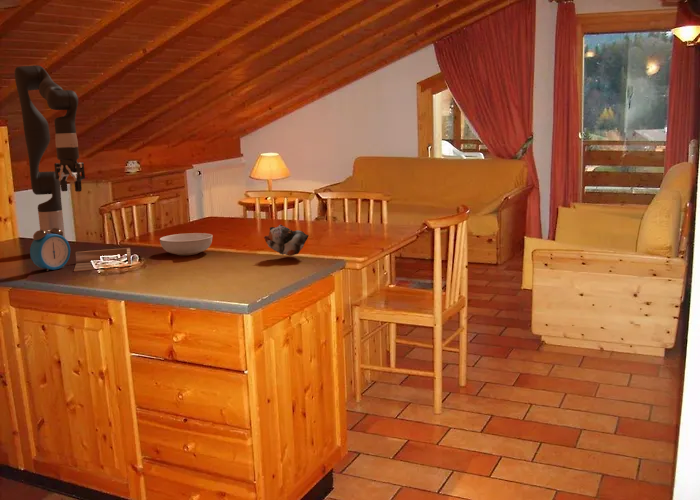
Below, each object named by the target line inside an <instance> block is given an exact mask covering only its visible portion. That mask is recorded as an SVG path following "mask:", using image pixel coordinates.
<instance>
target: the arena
mask: <svg viewBox="0 0 700 500" xmlns="http://www.w3.org/2000/svg"><path fill="white" fill-rule="evenodd" d="M74 254H75V261H76V262H75V266H74V268H73V272H76V273H77V272H87V271H96V270H95V269H94V268H93V267H92V266H91V265H90V261H91V260H99V259H100V256H102V255H103V256H104V255H117V254H120V255H124V254H127V260H128V264H131V265H132V259H131V258H132V254H131V248H130V247H125V248H124V247H123V248H113V249H110V248H109V249H101V250H100V249H97V250H86V251H76V252H75V253H74Z"/></svg>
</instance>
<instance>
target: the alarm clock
mask: <svg viewBox="0 0 700 500" xmlns="http://www.w3.org/2000/svg"><path fill="white" fill-rule="evenodd" d="M49 231H50V233H52V234H49ZM47 232H48V233H46V231H44V230H40V229H39V230H37V231H35V232H34V234H33V235H32V238H33V240H32V242H31V243H30V244H31V245H30V248H29V255H30V260H31V261H32V263H33V264H34V265H35V266H37V267H38V268H40V269H43V270H46V272H49V271H50V270H56V271H57V270H59V269H61V268H63V269H65V265H66V264H67V263H68V262H69V259H70V256H71V246H70V243H69V242H68V240H67V239H66V237H65V238H64V237H63V235H64V234H63V231H62V230H61V229H59V228H53V229H51V230H48V231H47Z"/></svg>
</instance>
